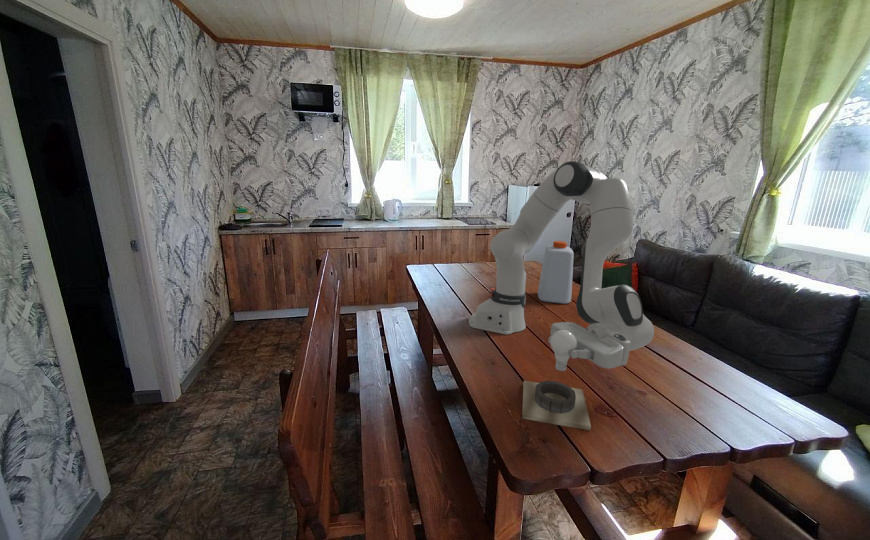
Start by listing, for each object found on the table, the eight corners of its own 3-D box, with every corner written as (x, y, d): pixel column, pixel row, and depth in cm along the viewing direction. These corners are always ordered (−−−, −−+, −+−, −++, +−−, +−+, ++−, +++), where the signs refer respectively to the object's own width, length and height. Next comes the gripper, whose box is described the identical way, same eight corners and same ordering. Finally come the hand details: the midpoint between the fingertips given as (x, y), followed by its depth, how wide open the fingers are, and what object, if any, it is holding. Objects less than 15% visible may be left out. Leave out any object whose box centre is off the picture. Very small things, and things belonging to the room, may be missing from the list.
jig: (522, 418, 93) (523, 403, 92) (523, 384, 108) (524, 371, 107) (590, 430, 90) (592, 415, 89) (581, 393, 105) (583, 379, 104)
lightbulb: (542, 367, 98) (546, 328, 95) (561, 363, 100) (565, 324, 98) (559, 379, 92) (563, 337, 90) (579, 374, 95) (583, 333, 92)
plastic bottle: (568, 295, 188) (575, 240, 180) (571, 305, 174) (579, 246, 166) (537, 292, 191) (542, 238, 184) (538, 302, 177) (544, 243, 169)
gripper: (575, 314, 108) (535, 320, 103) (635, 344, 90) (591, 354, 85) (572, 334, 110) (533, 341, 104) (631, 368, 91) (588, 378, 86)
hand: (560, 347), depth 94 cm, fingers closed on lightbulb, 6 cm apart
